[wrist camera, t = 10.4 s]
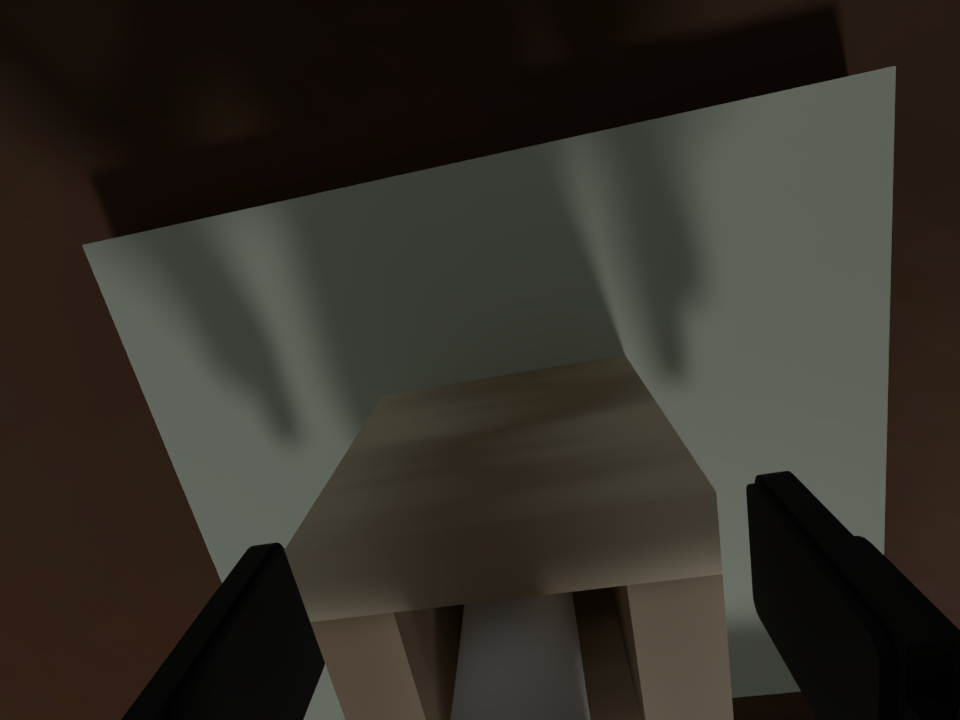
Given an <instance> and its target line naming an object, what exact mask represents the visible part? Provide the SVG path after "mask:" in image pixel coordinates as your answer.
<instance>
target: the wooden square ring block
mask: <svg viewBox="0 0 960 720" xmlns="http://www.w3.org/2000/svg"><path fill="white" fill-rule="evenodd" d="M284 551H285V553H286V556H287V559H288V562H289V564H290V567H291V570H292V573H293V576H294V578H295V581H296V584H297V587H298V589H299V592H300V595H301V598H302V601H303V603H304V606H305V609H306V612H307V614H308V617H309V620H310V623H311V626H312V628H313V631H314V634H315V637H316V639H317V642H318V645H319V648H320V651H321V653H322V656H323V659H324V662H325V664H326V667H327V670H328V673H329V676H330V678H331V681H332V684H333V687H334V689H335V692H336V695H337V698H338V701H339V703H340V706H341V709H342V712H343V714H344V717H345V720H451V714H452V705H453V697H454V689H455V680H456V672H457V663H458V655H459V646H460V638H461V630H462V621H463V613H464V604H471V603H479V602H488V601H496V600H505V599H514V598H522V597H531V596H539V595H548V594H557V593H565V592H572V596H573V603H574V610H575V617H576V624H577V630H578V637H579V644H580V651H581V658H582V665H583V672H584V679H585V686H586V693H587V700H588V707H589V714H590V720H734V717H733V704H732V691H731V678H730V665H729V652H728V639H727V626H726V613H725V599H724V586H723V573H722V560H721V547H720V534H719V521H718V508H717V495H716V491H715V489H714V488H713V486H712V485H711V483H710V482H709V480H708V479H707V477H706V476H705V474H704V473H703V471H702V470H701V468H700V467H699V465H698V464H697V462H696V461H695V459H694V458H693V456H692V455H691V453H690V452H689V450H688V449H687V447H686V446H685V444H684V443H683V441H682V440H681V438H680V437H679V435H678V434H677V432H676V431H675V429H674V428H673V426H672V425H671V423H670V422H669V420H668V419H667V417H666V416H665V414H664V413H663V411H662V410H661V408H660V407H659V405H658V404H657V402H656V401H655V399H654V398H653V396H652V395H651V393H650V392H649V390H648V389H647V387H646V386H645V384H644V383H643V381H642V380H641V378H640V377H639V375H638V374H637V372H636V371H635V369H634V368H633V366H632V365H631V363H630V362H629V360H628V359H627V357H626V356H625V355H623V356H617V357H611V358H605V359H599V360H592V361H586V362H580V363H574V364H568V365H562V366H556V367H550V368H544V369H538V370H532V371H526V372H520V373H514V374H508V375H502V376H496V377H490V378H484V379H478V380H472V381H466V382H460V383H454V384H448V385H442V386H436V387H430V388H424V389H418V390H412V391H406V392H400V393H394V394H388V395H382V397H381V399H380V400H379V402H378V403H377V405H376V406H375V408H374V410H373V411H372V413H371V414H370V416H369V417H368V419H367V421H366V422H365V424H364V425H363V427H362V428H361V430H360V432H359V433H358V435H357V436H356V438H355V440H354V441H353V443H352V444H351V446H350V447H349V449H348V451H347V452H346V454H345V455H344V457H343V458H342V460H341V462H340V463H339V465H338V466H337V468H336V469H335V471H334V473H333V474H332V476H331V477H330V479H329V480H328V482H327V484H326V485H325V487H324V488H323V490H322V491H321V493H320V495H319V496H318V498H317V499H316V501H315V502H314V504H313V506H312V507H311V509H310V510H309V512H308V513H307V515H306V517H305V518H304V520H303V521H302V523H301V525H300V526H299V528H298V529H297V531H296V532H295V534H294V536H293V537H292V539H291V540H290V542H289V543H288V545H287V547H286V548H285V550H284Z"/></svg>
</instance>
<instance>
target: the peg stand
mask: <svg viewBox="0 0 960 720" xmlns="http://www.w3.org/2000/svg"><path fill="white" fill-rule="evenodd" d="M895 78H896V66H893V67H888V68H884V69H879V70H875V71H870V72H866V73H861V74H856V75H852V76H847V77H843V78H838V79H834V80H829V81H825V82H820V83H816V84H811V85H807V86H802V87H798V88H793V89H788V90H784V91H779V92H775V93H770V94H766V95H761V96H757V97H752V98H748V99H743V100H739V101H734V102H729V103H725V104H720V105H716V106H711V107H707V108H702V109H698V110H693V111H689V112H684V113H680V114H675V115H670V116H666V117H661V118H657V119H652V120H648V121H643V122H639V123H634V124H630V125H625V126H621V127H616V128H611V129H607V130H602V131H598V132H593V133H589V134H584V135H580V136H575V137H571V138H566V139H562V140H557V141H553V142H548V143H543V144H539V145H534V146H530V147H525V148H521V149H516V150H512V151H507V152H503V153H498V154H494V155H489V156H484V157H480V158H475V159H471V160H466V161H462V162H457V163H453V164H448V165H444V166H439V167H435V168H430V169H425V170H421V171H416V172H412V173H407V174H403V175H398V176H394V177H389V178H385V179H380V180H376V181H371V182H366V183H362V184H357V185H353V186H348V187H344V188H339V189H335V190H330V191H326V192H321V193H317V194H312V195H308V196H303V197H298V198H294V199H289V200H285V201H280V202H276V203H271V204H267V205H262V206H258V207H253V208H249V209H244V210H239V211H235V212H230V213H226V214H221V215H217V216H212V217H208V218H203V219H199V220H194V221H190V222H185V223H180V224H176V225H171V226H167V227H162V228H158V229H153V230H149V231H144V232H140V233H135V234H131V235H126V236H121V237H117V238H112V239H108V240H103V241H99V242H94V243H90V244H85V245H82V246H83V249H84V251H85V253H86V256H87V258H88V261H89V263H90V266H91V268H92V270H93V273H94V275H95V278H96V280H97V282H98V285H99V287H100V290H101V292H102V294H103V297H104V299H105V302H106V304H107V307H108V309H109V311H110V314H111V316H112V319H113V321H114V323H115V326H116V328H117V331H118V333H119V336H120V338H121V340H122V343H123V345H124V348H125V350H126V352H127V355H128V357H129V360H130V362H131V364H132V367H133V369H134V372H135V374H136V377H137V379H138V381H139V384H140V386H141V389H142V391H143V393H144V396H145V398H146V401H147V403H148V406H149V408H150V410H151V413H152V415H153V418H154V420H155V422H156V425H157V427H158V430H159V432H160V434H161V437H162V439H163V442H164V444H165V447H166V449H167V451H168V454H169V456H170V459H171V461H172V463H173V466H174V468H175V471H176V473H177V476H178V478H179V480H180V483H181V485H182V488H183V490H184V492H185V495H186V497H187V500H188V502H189V504H190V507H191V509H192V512H193V514H194V517H195V519H196V521H197V524H198V526H199V529H200V531H201V533H202V536H203V538H204V541H205V543H206V546H207V548H208V550H209V553H210V555H211V558H212V560H213V562H214V565H215V567H216V570H217V572H218V575H219V577H220V579H221V582H222V583H223V581H224V580H225V579H226V577H227V576H228V575H229V573H230V572H231V571H232V569H233V568H234V567H235V565H236V564H237V563H238V561H239V560H240V558H241V557H242V556H243V554H244V553H245V552H246V550H247V549H248V548H249V547H251V546H254V545H261V544H268V543H276V542H277V543H280V544H281V545H282V546H283V548H286V547H287V545H288V543H289V542H290V540H291V539H292V537H293V536H294V534H295V532H296V531H297V529H298V528H299V526H300V525H301V523H302V521H303V520H304V518H305V517H306V515H307V513H308V512H309V510H310V509H311V507H312V506H313V504H314V502H315V501H316V499H317V498H318V496H319V495H320V493H321V491H322V490H323V488H324V487H325V485H326V484H327V482H328V480H329V479H330V477H331V476H332V474H333V473H334V471H335V469H336V468H337V466H338V465H339V463H340V462H341V460H342V458H343V457H344V455H345V454H346V452H347V451H348V449H349V447H350V446H351V444H352V443H353V441H354V440H355V438H356V436H357V435H358V433H359V432H360V430H361V428H362V427H363V425H364V424H365V422H366V421H367V419H368V417H369V416H370V414H371V413H372V411H373V410H374V408H375V406H376V405H377V403H378V402H379V400H380V399H381V397H382V395H388V394H394V393H400V392H406V391H412V390H418V389H424V388H430V387H436V386H442V385H448V384H454V383H460V382H466V381H472V380H478V379H484V378H490V377H496V376H502V375H508V374H514V373H520V372H526V371H532V370H538V369H544V368H550V367H556V366H562V365H568V364H574V363H580V362H586V361H592V360H599V359H605V358H611V357H617V356H623V355H625V356H626V357H627V359H628V360H629V362H630V363H631V365H632V366H633V368H634V369H635V371H636V372H637V374H638V375H639V377H640V378H641V380H642V381H643V383H644V384H645V386H646V387H647V389H648V390H649V392H650V393H651V395H652V396H653V398H654V399H655V401H656V402H657V404H658V405H659V407H660V408H661V410H662V411H663V413H664V414H665V416H666V417H667V419H668V420H669V422H670V423H671V425H672V426H673V428H674V429H675V431H676V432H677V434H678V435H679V437H680V438H681V440H682V441H683V443H684V444H685V446H686V447H687V449H688V450H689V452H690V453H691V455H692V456H693V458H694V459H695V461H696V462H697V464H698V465H699V467H700V468H701V470H702V471H703V473H704V474H705V476H706V477H707V479H708V480H709V482H710V483H711V485H712V486H713V488H714V489H715V491H716V495H717V508H718V521H719V534H720V547H721V560H722V573H723V586H724V599H725V613H726V626H727V639H728V652H729V665H730V678H731V691H732V698H737V697H748V696H758V695H769V694H780V693H791V692H801V690H800V689H799V687H798V685H797V683H796V682H795V680H794V678H793V676H792V675H791V673H790V671H789V669H788V668H787V666H786V664H785V662H784V661H783V659H782V657H781V655H780V654H779V652H778V650H777V648H776V647H775V645H774V643H773V641H772V640H771V638H770V636H769V634H768V633H767V631H766V629H765V627H764V626H763V624H762V622H761V620H760V618H759V616H758V614H757V612H756V609H755V605H754V601H753V592H752V576H751V560H750V544H749V528H748V512H747V496H746V487H747V485H748V484H752V483H755V478H756V476H757V475H760V474H768V473H775V472H782V471H790V472H791V473H793V474H794V475H795V476H796V477H797V478H798V479H799V480H800V481H801V482H802V483H803V484H804V486H805V487H806V488H807V489H808V490H809V491H810V492H811V493H812V494H813V495H814V496H815V497H816V498H817V499H818V500H819V501H820V502H821V503H822V504H823V505H824V506H825V507H826V508H827V509H828V510H829V511H830V512H831V513H832V514H833V515H834V516H835V517H836V518H837V519H838V520H839V521H840V522H841V523H842V524H843V525H844V526H845V527H846V528H847V529H848V531H849V532H850V533H851V534H852V535H853V536H861V537H864V538H866V539H867V540H868V541H870V542H871V543H872V544H873V545H874V546H875V547H876V548H877V549H878V550H879V551H880V552H881V553H882V554H883V555H884V531H885V489H886V448H887V407H888V366H889V325H890V283H891V242H892V201H893V160H894V119H895ZM303 720H345V717H344V714H343V712H342V709H341V706H340V703H339V701H338V698H337V695H336V692H335V689H334V687H333V684H332V681H331V678H330V676H329V673H328V670H327V667H326V664H325V666H324V669H323V671H322V674H321V676H320V679H319V681H318V684H317V686H316V689H315V691H314V694H313V697H312V699H311V702H310V704H309V707H308V709H307V712H306V714H305V717H304V719H303ZM451 720H590V714H589V707H588V700H587V693H586V686H585V679H584V672H583V665H582V658H581V651H580V644H579V637H578V630H577V624H576V617H575V610H574V603H573V596H572V592H565V593H557V594H548V595H539V596H531V597H522V598H514V599H505V600H496V601H488V602H479V603H471V604H464V613H463V621H462V630H461V638H460V646H459V655H458V663H457V672H456V680H455V689H454V697H453V705H452V714H451Z"/></svg>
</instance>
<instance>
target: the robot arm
mask: <svg viewBox="0 0 960 720" xmlns="http://www.w3.org/2000/svg"><path fill="white" fill-rule="evenodd" d="M746 496H747V512H748V528H749V544H750V560H751V576H752V592H753V601H754V605H755V609H756V612H757V614H758V616H759V618H760V620H761V622H762V624H763V626H764V627H765V629H766V631H767V633H768V634H769V636H770V638H771V640H772V641H773V643H774V645H775V647H776V648H777V650H778V652H779V654H780V655H781V657H782V659H783V661H784V662H785V664H786V666H787V668H788V669H789V671H790V673H791V675H792V676H793V678H794V680H795V682H796V683H797V685H798V687H799V689H800V690H801V692H802V694H803V696H804V697H805V699H806V701H807V703H808V704H809V706H810V708H811V710H812V711H813V713H814V715H815V717H816V718H817V720H960V630H959V629H958V628H957V627H956V626H955V625H954V624H953V623H952V622H951V621H950V620H949V619H948V618H947V617H946V616H945V615H944V614H943V613H942V612H941V611H940V610H939V609H938V608H937V607H935V606H934V605H933V604H932V603H931V602H930V601H929V600H928V599H927V598H926V597H925V596H924V595H923V594H922V593H921V592H920V591H919V590H918V589H917V588H916V587H915V586H914V585H913V584H912V583H911V582H910V581H909V580H908V579H907V578H906V577H905V576H904V575H903V574H902V573H901V572H900V571H899V570H898V569H897V568H896V567H895V566H894V565H893V564H892V563H891V562H890V561H889V560H888V559H887V558H886V557H885V556H884V555H883V554H882V553H881V552H880V551H879V550H878V549H877V548H876V547H875V546H874V545H873V544H872V543H871V542H870V541H868V540H867V539H866V538H864V537H861V536H853V535H852V534H851V533H850V532H849V531H848V529H847V528H846V527H845V526H844V525H843V524H842V523H841V522H840V521H839V520H838V519H837V518H836V517H835V516H834V515H833V514H832V513H831V512H830V511H829V510H828V509H827V508H826V507H825V506H824V505H823V504H822V503H821V502H820V501H819V500H818V499H817V498H816V497H815V496H814V495H813V494H812V493H811V492H810V491H809V490H808V489H807V488H806V487H805V486H804V484H803V483H802V482H801V481H800V480H799V479H798V478H797V477H796V476H795V475H794V474H793V473H791V472H790V471H782V472H775V473H768V474H760V475H757V476H756V478H755V483H752V484H748V485H747V487H746ZM284 550H285V548H283V546H282V545H281V544H280V543H277V542H276V543H268V544H261V545H254V546H251V547H249V548H248V549H247V550H246V552H245V553H244V554H243V556H242V557H241V558H240V560H239V561H238V563H237V564H236V565H235V567H234V568H233V569H232V571H231V572H230V573H229V575H228V576H227V577H226V579H225V580H224V581H223V583H222V584H221V586H220V587H219V588H218V590H217V591H216V592H215V594H214V595H213V596H212V598H211V599H210V600H209V602H208V603H207V604H206V606H205V607H204V609H203V610H202V611H201V613H200V614H199V615H198V617H197V618H196V619H195V621H194V622H193V623H192V625H191V626H190V627H189V629H188V630H187V632H186V633H185V634H184V636H183V637H182V638H181V640H180V641H179V642H178V644H177V645H176V646H175V648H174V649H173V650H172V652H171V653H170V655H169V656H168V657H167V659H166V660H165V661H164V663H163V664H162V665H161V667H160V668H159V669H158V671H157V672H156V673H155V675H154V676H153V678H152V679H151V680H150V682H149V683H148V684H147V686H146V687H145V688H144V690H143V691H142V692H141V694H140V695H139V696H138V698H137V699H136V701H135V702H134V703H133V705H132V706H131V707H130V709H129V710H128V711H127V713H126V714H125V715H124V717H123V718H122V719H121V720H303V719H304V717H305V714H306V712H307V709H308V707H309V704H310V702H311V699H312V697H313V694H314V691H315V689H316V686H317V684H318V681H319V679H320V676H321V674H322V671H323V669H324V666H325V662H324V659H323V656H322V653H321V651H320V648H319V645H318V642H317V639H316V637H315V634H314V631H313V628H312V626H311V623H310V620H309V617H308V614H307V612H306V609H305V606H304V603H303V601H302V598H301V595H300V592H299V589H298V587H297V584H296V581H295V578H294V576H293V573H292V570H291V567H290V564H289V562H288V559H287V556H286V553H285V551H284Z"/></svg>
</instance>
